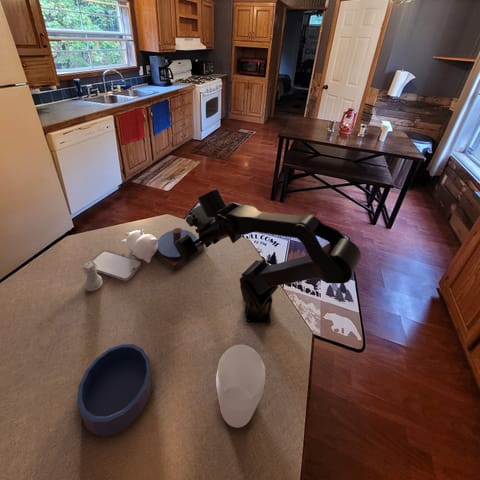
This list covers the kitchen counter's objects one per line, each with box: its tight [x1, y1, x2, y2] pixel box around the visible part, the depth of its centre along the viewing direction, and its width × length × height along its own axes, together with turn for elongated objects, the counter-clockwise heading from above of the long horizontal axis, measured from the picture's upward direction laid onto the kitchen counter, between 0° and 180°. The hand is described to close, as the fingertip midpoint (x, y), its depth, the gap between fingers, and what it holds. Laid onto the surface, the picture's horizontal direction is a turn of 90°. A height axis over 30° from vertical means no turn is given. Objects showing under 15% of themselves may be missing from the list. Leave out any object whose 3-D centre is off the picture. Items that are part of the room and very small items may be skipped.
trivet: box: [154, 227, 205, 272], centre depth 88 cm, size 13×13×2 cm
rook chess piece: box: [83, 260, 103, 292], centre depth 72 cm, size 4×4×8 cm
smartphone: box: [92, 251, 142, 281], centre depth 79 cm, size 7×1×15 cm
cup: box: [215, 344, 266, 429], centre depth 48 cm, size 9×9×12 cm
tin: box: [76, 343, 153, 437], centre depth 50 cm, size 13×13×5 cm
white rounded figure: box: [121, 228, 159, 263], centre depth 85 cm, size 9×11×12 cm
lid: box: [157, 227, 198, 258], centre depth 86 cm, size 14×14×6 cm
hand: (192, 241), depth 81 cm, fingers open, 9 cm apart
